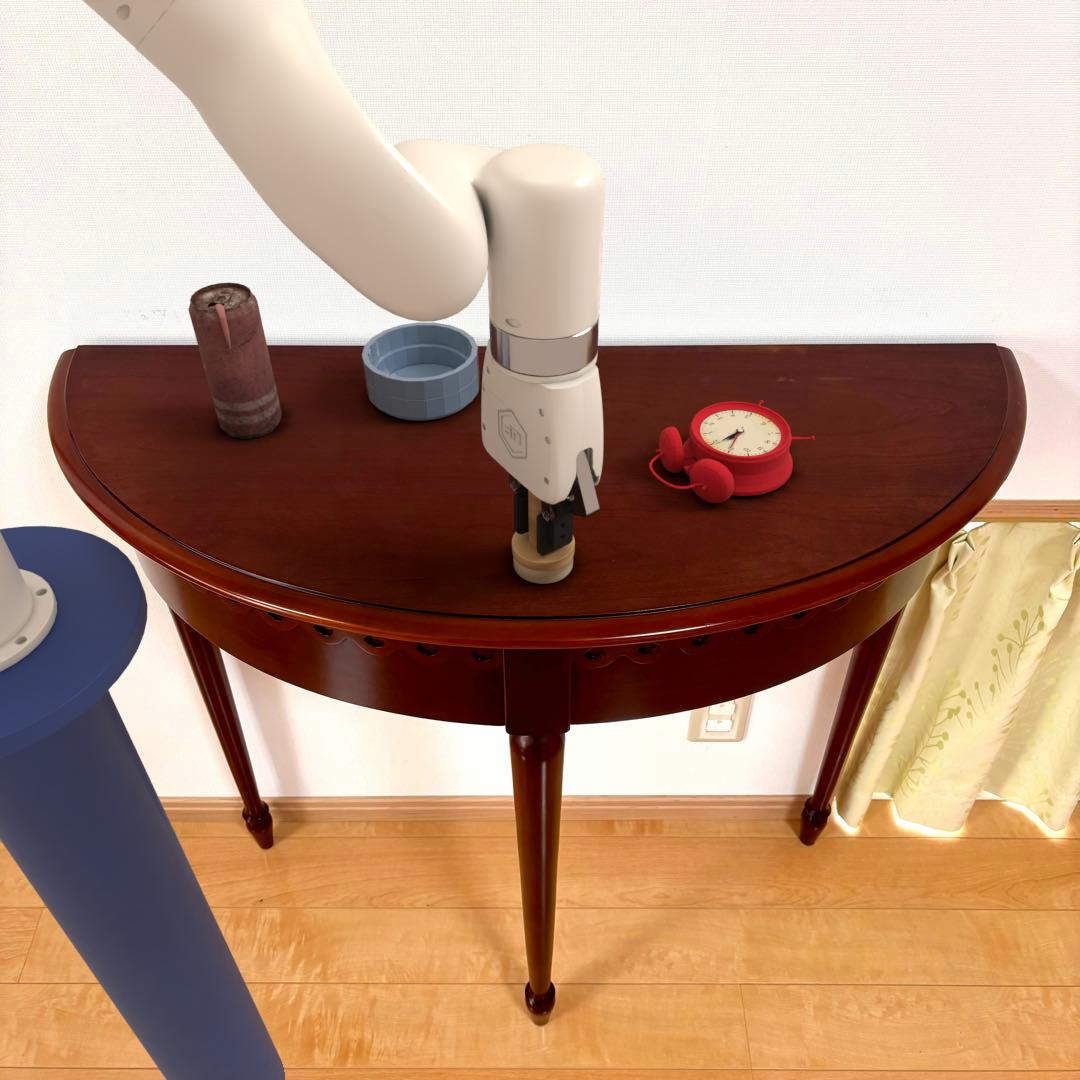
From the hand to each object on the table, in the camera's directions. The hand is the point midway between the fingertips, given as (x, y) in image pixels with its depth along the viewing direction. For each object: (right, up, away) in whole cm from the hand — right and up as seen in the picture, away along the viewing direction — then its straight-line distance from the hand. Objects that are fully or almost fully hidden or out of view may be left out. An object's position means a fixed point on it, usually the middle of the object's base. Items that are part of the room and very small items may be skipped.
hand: (543, 535), depth 78 cm
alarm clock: (+17, +6, +12) cm, 21 cm away
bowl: (-12, +15, +22) cm, 30 cm away
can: (-29, +11, +18) cm, 36 cm away
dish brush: (0, -2, +2) cm, 3 cm away
